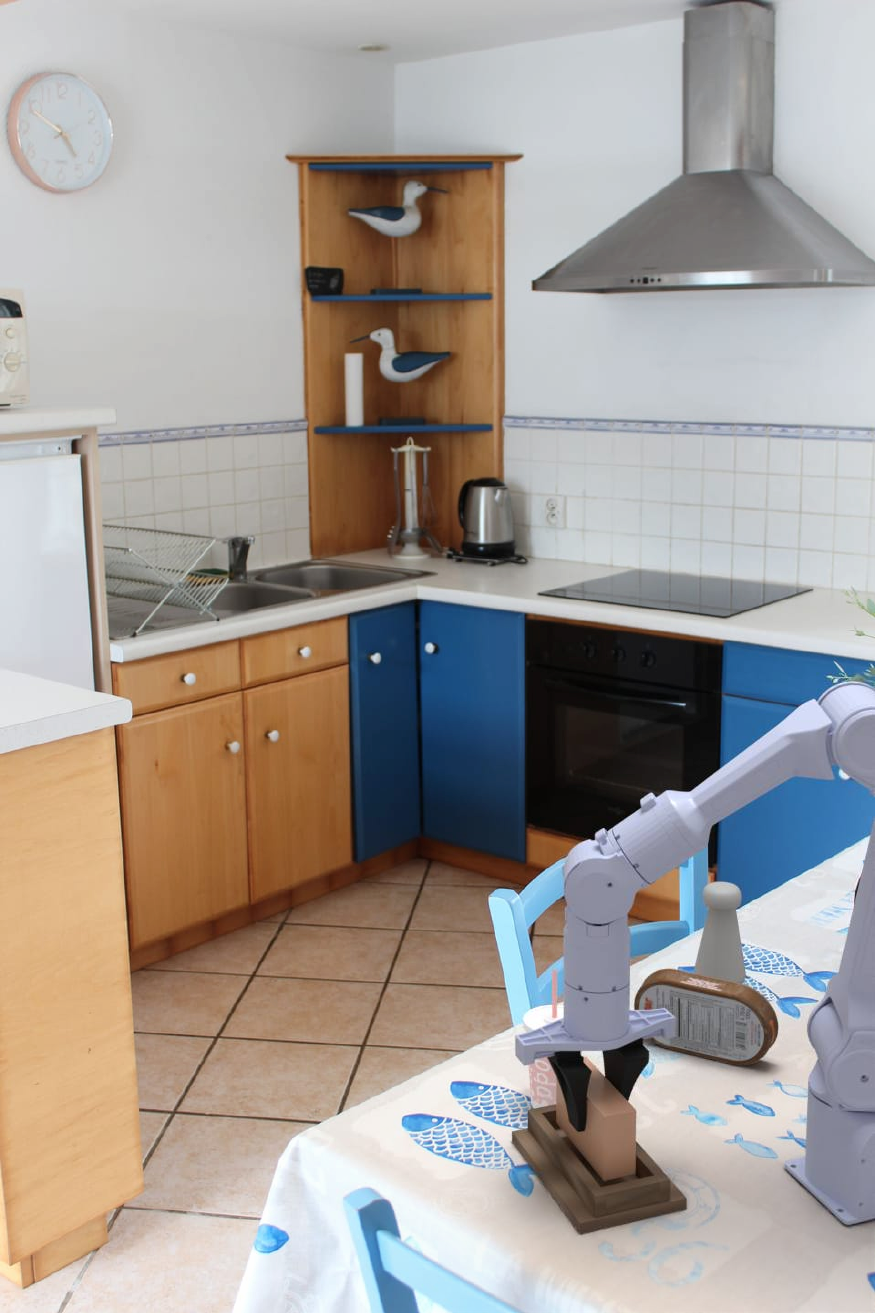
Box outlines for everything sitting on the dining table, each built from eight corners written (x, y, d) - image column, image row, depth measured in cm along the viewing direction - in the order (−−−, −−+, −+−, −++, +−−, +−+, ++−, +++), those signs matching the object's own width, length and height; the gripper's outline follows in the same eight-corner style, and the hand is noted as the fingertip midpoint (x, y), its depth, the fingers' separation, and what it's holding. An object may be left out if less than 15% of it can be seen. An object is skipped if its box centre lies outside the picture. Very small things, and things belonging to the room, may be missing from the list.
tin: (778, 1064, 141) (780, 988, 139) (769, 1077, 138) (771, 1000, 136) (640, 1032, 148) (641, 959, 146) (629, 1044, 145) (630, 970, 144)
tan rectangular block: (635, 1174, 117) (636, 1110, 116) (603, 1181, 116) (604, 1117, 115) (585, 1116, 127) (586, 1056, 125) (556, 1122, 126) (556, 1062, 124)
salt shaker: (683, 987, 158) (685, 881, 156) (724, 977, 161) (726, 872, 158) (714, 1007, 153) (716, 898, 150) (755, 997, 155) (758, 889, 153)
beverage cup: (510, 1104, 134) (509, 971, 131) (550, 1081, 138) (550, 951, 135) (558, 1127, 129) (558, 990, 126) (598, 1103, 134) (599, 969, 131)
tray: (686, 1209, 116) (687, 1177, 116) (579, 1234, 113) (579, 1201, 113) (609, 1120, 130) (609, 1092, 130) (512, 1141, 127) (511, 1111, 127)
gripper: (650, 948, 124) (647, 1085, 127) (501, 973, 119) (502, 1114, 122) (688, 980, 117) (685, 1123, 120) (533, 1007, 113) (533, 1156, 116)
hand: (595, 1122), depth 121 cm, fingers closed on tan rectangular block, 3 cm apart
